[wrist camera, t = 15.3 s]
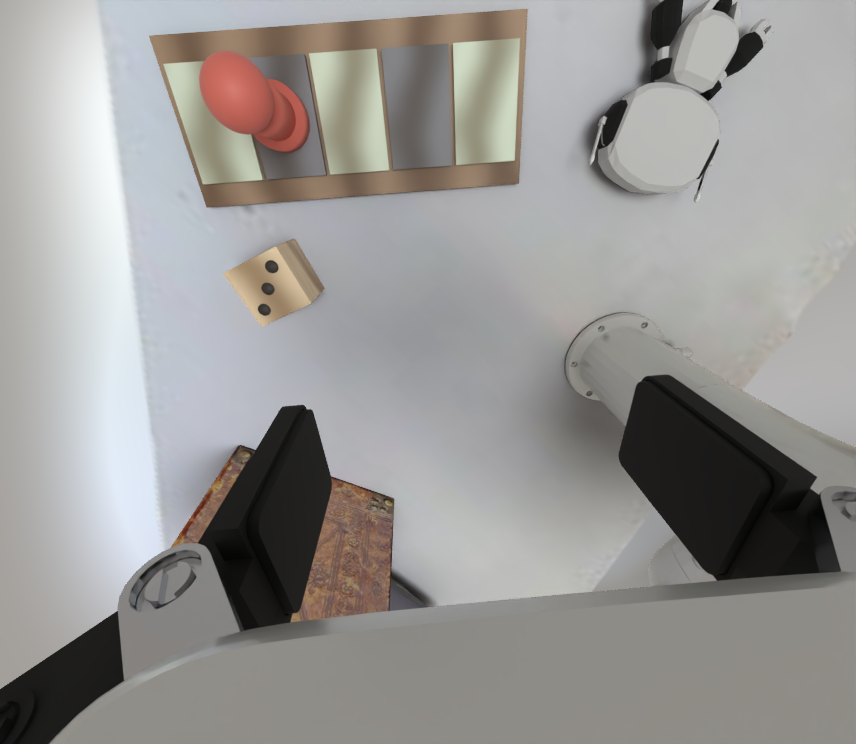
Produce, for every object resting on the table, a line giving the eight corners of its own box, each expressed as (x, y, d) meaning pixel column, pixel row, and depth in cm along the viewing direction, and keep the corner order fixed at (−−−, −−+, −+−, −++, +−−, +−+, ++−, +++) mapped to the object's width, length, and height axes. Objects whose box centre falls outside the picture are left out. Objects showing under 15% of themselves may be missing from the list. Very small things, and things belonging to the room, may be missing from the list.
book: (223, 485, 53) (37, 776, 27) (239, 443, 50) (43, 732, 23) (371, 531, 60) (342, 800, 33) (395, 498, 56) (382, 769, 30)
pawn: (302, 83, 30) (249, 28, 20) (315, 150, 32) (273, 131, 22) (245, 87, 30) (164, 35, 20) (262, 154, 32) (197, 137, 22)
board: (524, 13, 30) (529, 5, 28) (516, 183, 36) (520, 183, 34) (155, 39, 29) (144, 32, 28) (210, 207, 35) (203, 207, 34)
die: (294, 238, 37) (275, 246, 32) (324, 288, 40) (310, 303, 34) (248, 262, 38) (222, 273, 32) (280, 309, 41) (261, 327, 35)
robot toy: (639, -13, 30) (568, 175, 35) (677, -51, 26) (590, 168, 31) (750, 40, 32) (667, 210, 37) (802, 12, 28) (700, 208, 33)
